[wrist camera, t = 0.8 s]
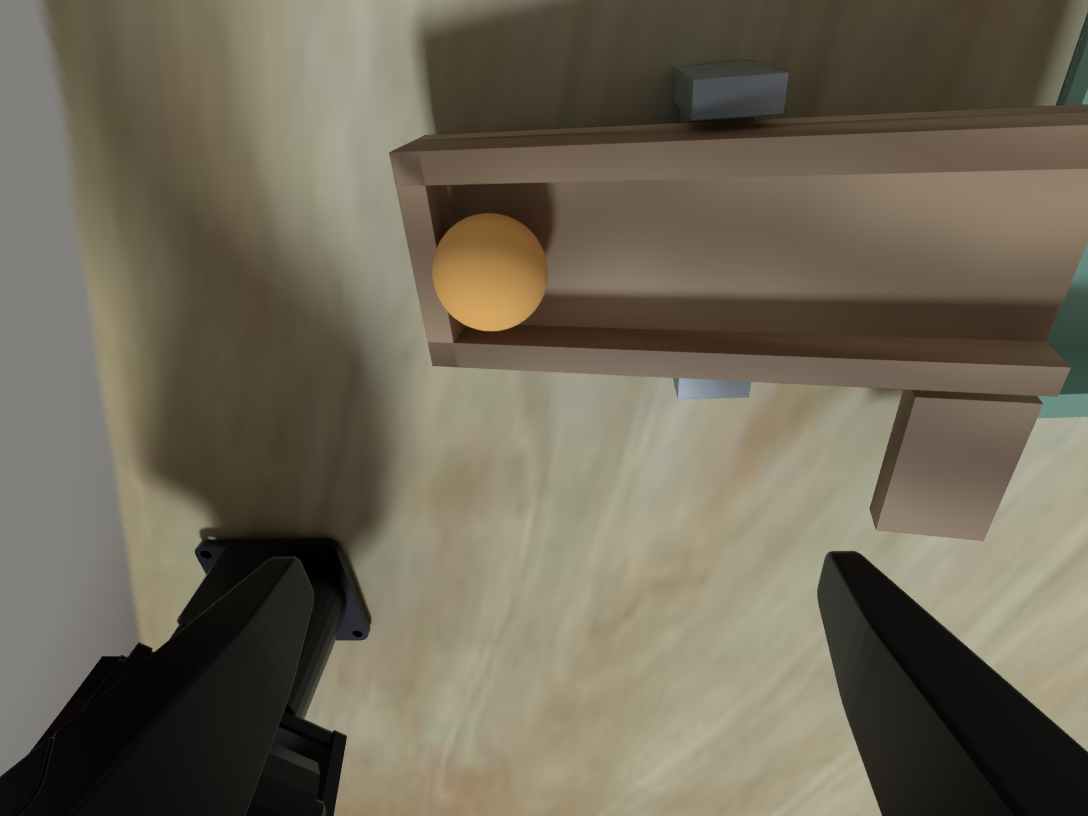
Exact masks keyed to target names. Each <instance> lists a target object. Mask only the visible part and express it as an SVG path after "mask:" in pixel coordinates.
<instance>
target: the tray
mask: <svg viewBox="0 0 1088 816" xmlns="http://www.w3.org/2000/svg"><path fill="white" fill-rule="evenodd" d="M1081 104H1088V16H1087V19H1086V22H1085V25H1084V28H1083V31H1082V33H1081V36H1080V39H1079V42H1078V45H1077V48H1076V51H1075V54H1074V57H1073V60H1072V63H1071V66H1070V68H1069V71H1068V74H1067V77H1066V80H1065V83H1064V86H1063V89H1062V92H1061V95H1060V98H1059V101H1058V103H1057V106H1059V105H1081ZM1047 342H1048V344H1049V345H1050V346H1051V347H1052V348H1053V349H1054V350H1055V351H1056V352H1057V353H1058V354H1059V355H1060V356H1061V357H1062V358H1063V359H1064V361H1065V362H1066V363H1067V364H1068V365H1069V366H1070V367H1071V369H1070V371H1069V373H1068V376H1067V378H1066V380H1065V382H1064V384H1063V387H1062V389H1061V391H1060V393H1059V396H1058V397H1049V396H1038V398H1039V399H1040V400H1041V401H1042V403H1043V406H1042V408H1041V411H1040V413H1039V415H1038V418H1058V417H1088V243H1087V245H1086V248H1085V250H1084V253H1083V255H1082V257H1081V260H1080V262H1079V265H1078V267H1077V270H1076V272H1075V274H1074V277H1073V279H1072V282H1071V284H1070V286H1069V289H1068V291H1067V294H1066V296H1065V299H1064V301H1063V303H1062V306H1061V308H1060V311H1059V313H1058V315H1057V318H1056V320H1055V323H1054V325H1053V328H1052V330H1051V332H1050V335H1049V337H1048V340H1047Z"/></svg>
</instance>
